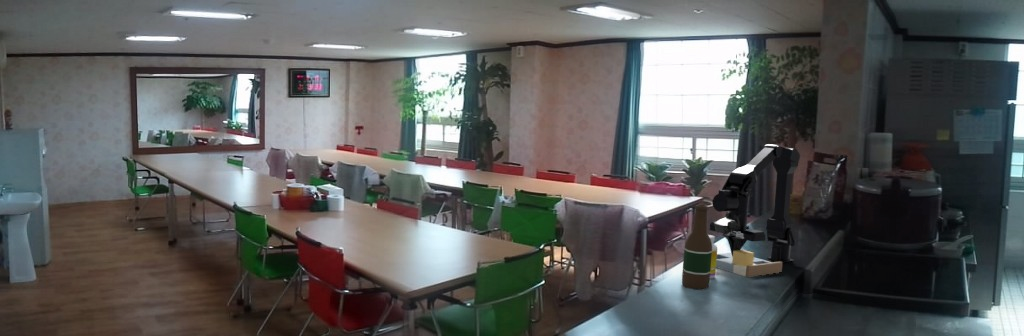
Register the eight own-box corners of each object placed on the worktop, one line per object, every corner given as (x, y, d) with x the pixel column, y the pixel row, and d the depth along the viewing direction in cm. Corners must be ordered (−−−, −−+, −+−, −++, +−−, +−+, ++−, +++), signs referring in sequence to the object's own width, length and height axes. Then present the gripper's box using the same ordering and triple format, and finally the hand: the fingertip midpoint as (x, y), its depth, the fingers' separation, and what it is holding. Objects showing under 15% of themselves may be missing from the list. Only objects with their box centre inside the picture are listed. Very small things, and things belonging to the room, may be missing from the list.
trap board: (735, 259, 231) (736, 249, 231) (781, 272, 215) (782, 262, 214) (702, 262, 223) (703, 252, 223) (748, 277, 207) (749, 266, 206)
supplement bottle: (712, 274, 208) (716, 234, 207) (717, 280, 202) (720, 238, 200) (691, 272, 209) (694, 233, 208) (694, 278, 202) (698, 237, 201)
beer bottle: (709, 284, 196) (716, 204, 194) (708, 291, 189) (715, 208, 186) (682, 281, 199) (688, 202, 196) (680, 287, 191) (686, 205, 189)
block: (741, 261, 217) (742, 249, 216) (752, 265, 213) (754, 252, 212) (732, 262, 214) (733, 250, 214) (743, 266, 211) (744, 253, 210)
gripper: (699, 205, 219) (695, 252, 221) (744, 216, 203) (739, 265, 205) (723, 204, 225) (719, 249, 226) (768, 214, 209) (764, 263, 210)
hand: (734, 256), depth 217 cm, fingers closed
